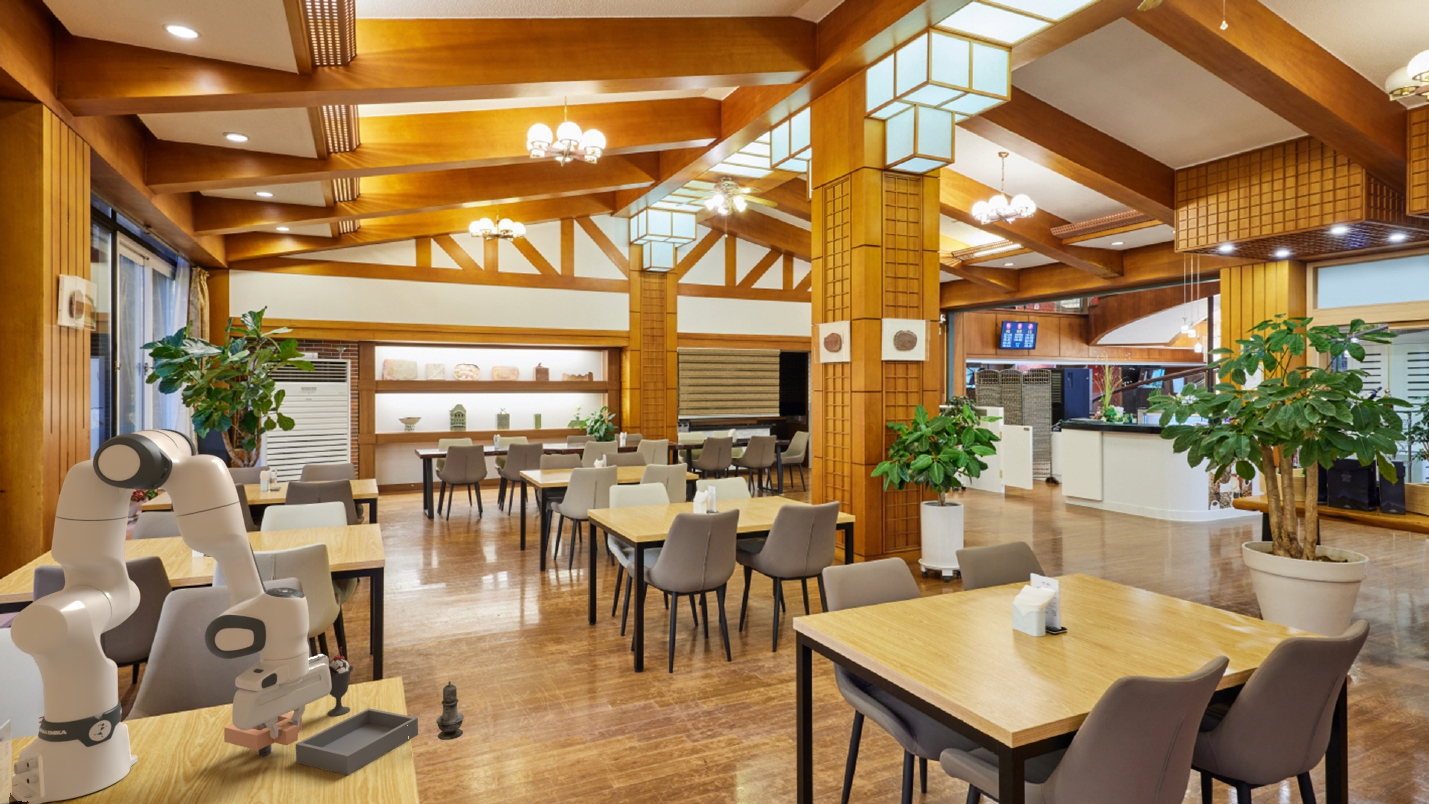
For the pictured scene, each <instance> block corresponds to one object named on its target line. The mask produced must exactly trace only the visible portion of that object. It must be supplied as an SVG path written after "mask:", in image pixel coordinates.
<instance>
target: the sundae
mask: <svg viewBox="0 0 1429 804" xmlns="http://www.w3.org/2000/svg"><path fill="white" fill-rule="evenodd" d="M342 649H343V646H340V647H339V652H338V653H337V655H334V657H333V659H332V660H330V662H329V670H330V676H331V685H332V688H331V691H330V693H329V695H330V696H331V697H333V698H334V699H335V707H333V708H332V709H329V710H328V711H327V716H330V717H337V716H344V715H345V714H347V713H349V712H350V711H351V708H350V707H349V706H343V705H342V697H343V696H345V695H346V693H348V690H349V684H350V678H351V673H352V672H354V671H353V670H354V666H353V665H350V664H349V662H348V660H345V656H344V655H343V650H342ZM339 654H341V656H340V655H339Z"/></svg>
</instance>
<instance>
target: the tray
mask: <svg viewBox="0 0 1429 804" xmlns="http://www.w3.org/2000/svg"><path fill="white" fill-rule="evenodd" d="M407 725H408V726H407ZM418 735H419V717H415V716H411V715H410V716H409V715H405V714H400V713H395V712H389V711H386V710H379V709H375V708H369V707H368V708H366V709H364V710H362V711H360V712H359V713H355V715H352V716H349V717H348V718H346V719H344V720H342V721H340V722H338V723H336V724H334V725H332V726H330V727H328V728H326V729H324V730H322V731H319V732H318V733H316V734H313V735H311V736H309V737H307V738H305V739H303V740H301V741H299V742H297V743H295V763H297V764H301V765H305V766H310V767H314V768H318V769H322V770H325V771H330V772H334V773H338V774H342V775H346V776H349V775H351V774H353V773H354V772H356V771H359V770H360V769H362V768H363V767H365V766H367V765H368V764H370V763H372V762H373V761H375V760H377V759H378V758H380V757H382V756H384V755H385V754H387V753H389V752H391V751H393V750H394V749H396V748H398V747H400V746H402V745H403V744H405V743H406V742H409V740H408V736H409V739H410V740H412V739H414V738H415V737H417V736H418Z"/></svg>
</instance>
